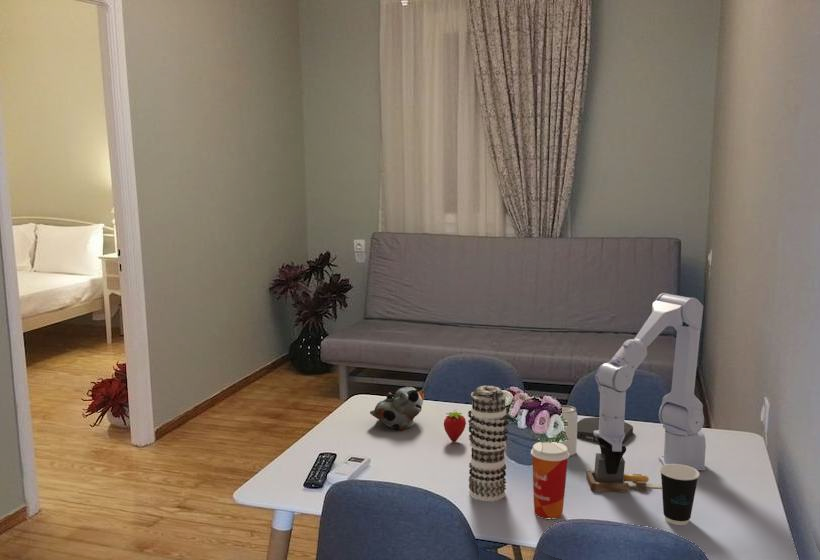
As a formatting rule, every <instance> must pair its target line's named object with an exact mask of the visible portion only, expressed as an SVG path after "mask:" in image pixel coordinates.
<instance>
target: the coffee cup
mask: <svg viewBox="0 0 820 560" xmlns="http://www.w3.org/2000/svg"><path fill="white" fill-rule="evenodd" d="M530 455H531V457H532V459H531V460H532V484H533V485H532V487H533V488H532V489H533V491H532V492H533V510H534V514H535V513H536V514H537V515H538V516H540V517H543V518H542V519H544V518H551V519H550V520H553V519H552V518H557V519H559V517H560V518H561V517H562V516H563V512H564V511H563V510H564V502H565V501H564V500H565V493H566V492H565V489H566V482H567V481H566V480H567V471H568V470H567V469H568V458H569V457H571V456H570V454H569V452H568V449H567V447H566V446H565V445H563V444H561V443H557V442H552V441H551V442H550V441H543V442H541V441H539V442H536V443H535V444H533V446H532V449H531V450H530ZM536 514H535V515H536ZM537 515H536V516H537ZM561 515H562V516H561ZM538 516H537V517H538ZM540 517H539V518H540Z"/></svg>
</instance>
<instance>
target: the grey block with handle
mask: <svg viewBox="0 0 820 560" xmlns="http://www.w3.org/2000/svg"><path fill="white" fill-rule="evenodd" d="M625 465H626V461H625V458H624V457H623V456H622V458H621V460H620V463H619V467H618V470H617V473H616V474H607V471H606V465H605V457H604V454H601V452H599V453H598V452H596V453H595V461H594V470H593V471H594V478H595V482H613V483H624V482H629V483H633V482H637V481H645V482H646V483H649V477H648V476H647V475H642V474H641V475H633V474H627V473H625Z"/></svg>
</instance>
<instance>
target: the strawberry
mask: <svg viewBox="0 0 820 560" xmlns="http://www.w3.org/2000/svg"><path fill="white" fill-rule="evenodd" d="M462 414H463V412H458V411H456V410H455V411H453V412H450V411H449V412H447V413H446V414H445V415H447V416H445V418H444V420H443V421H444V422H443V427H444V428H443V429H444V431H445V433H446V435H447V436H448V438H449V439H450V441H451V442H452V443H456V442H457V440H459V438H460V437H461V435H462V434H463V433H464V431H465V429H466V425H467V423H466V422H467V421H466V418H465V416H463V415H462Z"/></svg>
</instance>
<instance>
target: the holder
mask: <svg viewBox="0 0 820 560" xmlns="http://www.w3.org/2000/svg"><path fill="white" fill-rule="evenodd" d="M632 475H642V474H640V473H638V474H637V473H633V474H632ZM585 478H586V481H587V484H588V487H589V489H590V491H591V492H611V493H613V492H616V493H629V492H630V490H629V488H636V491H647V489H662V484H660V483H647V482H645V481H637V482H623V483H613V482H596V481H595V478H594V470H586V475H585Z"/></svg>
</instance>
